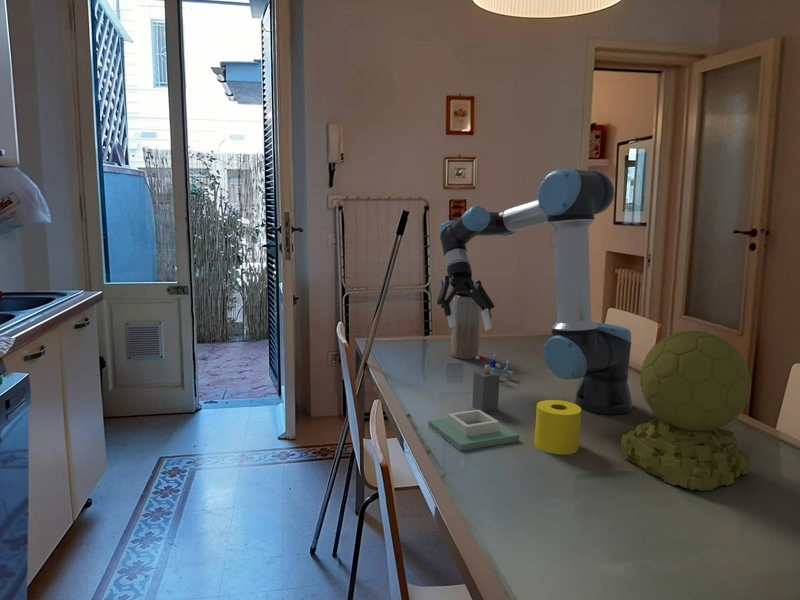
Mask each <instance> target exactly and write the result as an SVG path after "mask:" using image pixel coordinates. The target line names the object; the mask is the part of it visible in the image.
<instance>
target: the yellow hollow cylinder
mask: <svg viewBox="0 0 800 600" xmlns="http://www.w3.org/2000/svg"><path fill="white" fill-rule="evenodd" d="M535 416H536V417H535V430H534V441H533V442H534V443H533V444H534V446H535V447H536V448H537V449H539V450H541V451H543V452H545V453H549V454H552V455H572V454H575V453H577V452H578V451H579V447H580V436H581V435H580V433H581V423H582V421H581V420H582V408H581V407H579V406H578V405H576V403H575V402H574V403H573V402H571V401H567V400H561V399H545V400H542V401H539V402H537V403H536V413H535Z"/></svg>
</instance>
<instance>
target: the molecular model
mask: <svg viewBox="0 0 800 600" xmlns="http://www.w3.org/2000/svg"><path fill="white" fill-rule="evenodd" d="M497 358H498V354H496V353H495V354H493V360H491V362H490V364H487V363H486V361H485V357H484V356H480V355H478V356H476V358H475V359H476V360H479V361H480V362H482V363H483V364H484V366H485V365H488V366H489V370H491V371H493V372H495V373H497V374H498V372H503V373H504V377H505V378H509V377H510V376H509V375H511V376H513V375H514V371H513V370H510V369H509V365H510V363H511V362H510V360H506V362H505V363H506V366H505V367H504V368H503V369H498V368H501V364H500V363H497V361H496V360H497ZM491 366H492V367H491Z"/></svg>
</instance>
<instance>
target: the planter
mask: <svg viewBox="0 0 800 600" xmlns="http://www.w3.org/2000/svg"><path fill="white" fill-rule="evenodd" d="M452 304H453V309H454V314H455V319H456V325H454V326H453V327H452V328H451V341H450V347H451V348H450V356H451V357H453V358H455V359H458V360H474V359H476V356H479V353H480V350H479V349H480V329H481V312H482V309H481V308H480V307H479V306H478V305H477V303H476V302H475V301H474V300H473V299H472V298H471V297H470V296H468V295H467V294H463V293H458V292H457V293H456V294H455V296H454V297H453V299H452Z"/></svg>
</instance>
